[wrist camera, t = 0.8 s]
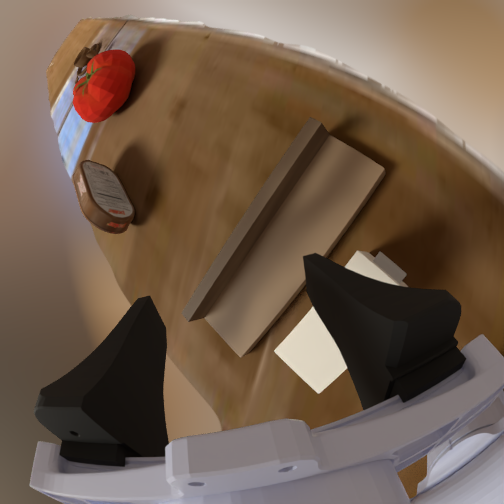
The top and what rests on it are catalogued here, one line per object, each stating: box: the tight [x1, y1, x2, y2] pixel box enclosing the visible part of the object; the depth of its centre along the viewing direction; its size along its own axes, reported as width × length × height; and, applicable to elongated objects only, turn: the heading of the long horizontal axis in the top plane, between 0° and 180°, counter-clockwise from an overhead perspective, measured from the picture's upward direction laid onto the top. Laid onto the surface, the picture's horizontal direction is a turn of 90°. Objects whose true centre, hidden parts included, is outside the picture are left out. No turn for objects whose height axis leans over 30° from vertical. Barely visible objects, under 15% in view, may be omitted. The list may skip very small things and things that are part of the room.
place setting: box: [74, 44, 100, 84], centre depth 56 cm, size 18×20×6 cm
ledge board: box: [182, 117, 386, 358], centre depth 24 cm, size 7×22×4 cm, turn 140°
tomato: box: [73, 50, 135, 123], centre depth 39 cm, size 14×16×10 cm
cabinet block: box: [274, 250, 408, 394], centre depth 19 cm, size 4×10×7 cm, turn 140°
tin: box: [73, 160, 135, 234], centre depth 36 cm, size 15×3×8 cm, turn 42°
